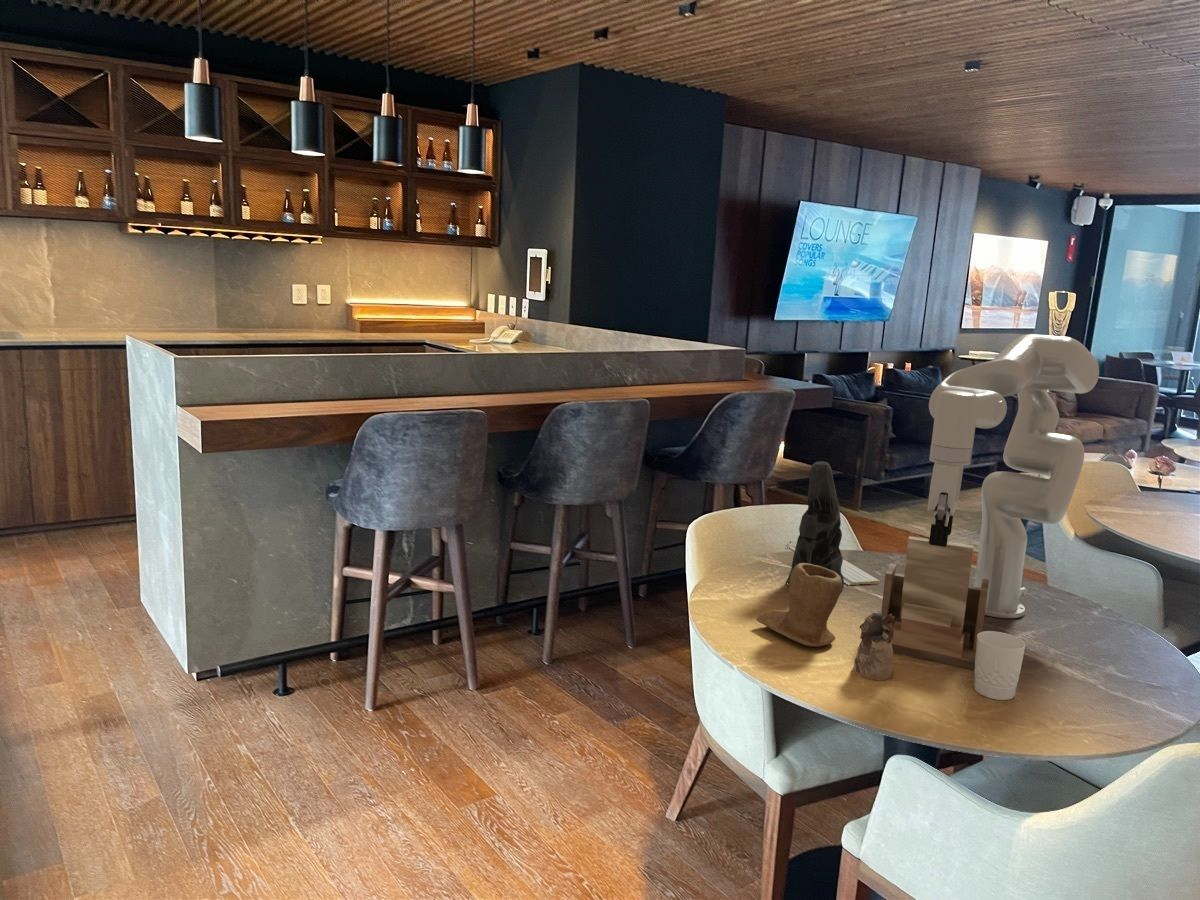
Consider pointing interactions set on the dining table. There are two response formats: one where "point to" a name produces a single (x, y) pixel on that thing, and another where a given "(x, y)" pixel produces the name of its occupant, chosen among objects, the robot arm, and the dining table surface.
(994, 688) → the white cup
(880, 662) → the figurine
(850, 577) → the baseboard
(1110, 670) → the dining table surface
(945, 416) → the robot arm
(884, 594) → the walnut rack
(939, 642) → the offcut bundle
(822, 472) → the dark tapered sculpture
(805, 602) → the clay boot figure
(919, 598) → the birch sheet
